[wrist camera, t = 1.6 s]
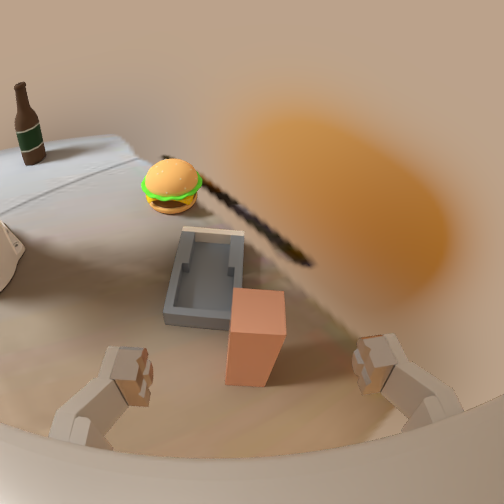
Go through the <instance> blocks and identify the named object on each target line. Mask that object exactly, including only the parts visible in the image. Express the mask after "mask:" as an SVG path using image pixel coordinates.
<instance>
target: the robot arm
mask: <svg viewBox="0 0 504 504" xmlns="http://www.w3.org/2000/svg"><path fill="white" fill-rule="evenodd" d="M24 251H25V247H24V245H23V244H22V243H21V242H20V241H19V240H18V239H17V238H16V236H15V235H14V234H13V233H12V232H11V231H10V230H9V229H8V228H7V227H6V225H5V224H4V223H3V222H2V221H1V220H0V291H2V290H3V289H4V287H5V286H6V285H7V284H8V282H9V281H10V280H11V278H12V276H13V274H14V272H15V269H16V266H17V263H18V260H19V259H20V257H21V256H22V254H23V253H24ZM356 345H357V349H356V350H355V351H354V352H353V356H352V367H353V371H354V374H356V375H357V376H358V377H359V380H358V382H357V383H358V386H359V388H360V391H361V394H362V395H366V394H372V393H378V392H381V394H382V395H383V396H384V397H385V398H386V399H387V400H389V401H390V402H391V403H392V404H393V405H394V406H395V407H396V408H397V409H398V410H399V411H400V412H402V413H403V414H404V415H405V416H406V417H407V418H408V419H409V420H408V421H407V422H406V424H405V425H404V426H403V428H402V430H401V431H402V433H399V434H395V435H392V436H388V437H384V438H380V439H376V440H372V441H367V442H363V443H358V444H353V445H348V446H343V447H338V448H332V449H326V450H320V451H313V452H305V453H297V454H289V455H278V456H266V457H250V458H180V457H164V456H152V455H142V454H134V453H126V452H119V451H113V447H112V445H111V444H110V443H109V442H108V441H107V440H106V439H105V437H104V436H105V435H106V433H107V432H108V431H109V430H110V429H111V427H112V426H113V425H114V424H115V423H116V421H117V420H118V419H119V418H120V417H121V415H122V414H123V413H124V412H125V411H126V409H127V408H128V406H138V407H149V401H150V395H151V393H150V390H149V387H150V386H151V385H152V383H153V366H152V363H151V361H150V360H148V359H147V358H148V352H147V349H146V348H137V347H122V346H109V347H108V348H107V349H106V352H105V355H104V358H103V361H102V365H101V368H100V371H99V374H98V377H97V378H93V379H92V380H91V381H90V382H89V383H87V384H86V385H85V386H84V387H83V388H82V389H81V390H79V391H78V392H77V393H76V394H75V395H74V396H73V397H71V398H70V399H69V400H68V401H67V402H66V403H65V404H63V405H62V406H61V407H60V408H59V409H58V410H57V411H56V413H55V416H54V419H53V423H52V426H51V429H50V432H49V436H48V437H46V436H42V435H39V434H35V433H32V432H29V431H25V430H22V429H19V428H16V427H13V426H10V425H7V424H4V423H2V422H0V504H504V394H503V395H500V396H498V397H496V398H494V399H492V400H490V401H488V402H485V403H483V404H481V405H479V406H476V407H474V408H472V409H469V410H467V411H464V410H463V408H462V406H461V404H460V402H459V400H458V398H457V396H456V394H455V392H454V390H453V388H451V387H450V386H448V385H446V384H445V383H444V382H442V381H441V380H439V379H438V378H436V377H435V376H433V375H432V374H430V373H429V372H428V371H426V370H424V369H423V368H422V367H420V366H418V365H417V364H416V363H414V362H413V361H412V362H409V360H408V358H407V356H406V354H405V352H404V350H403V348H402V346H401V344H400V342H399V340H398V338H397V337H396V335H395V334H394V333H389V334H383V335H375V336H368V337H361V338H359V339H358V341H357V343H356Z"/></svg>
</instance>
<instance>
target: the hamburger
mask: <svg viewBox="0 0 504 504" xmlns="http://www.w3.org/2000/svg"><path fill="white" fill-rule="evenodd" d="M141 186H142V190H143V191H144V192H145V194H146V199H147V201H148V203H149V204H150V206H151V207H152V208H153V209H155V210H156V211H158V212H161V213H166V214H175V213H180V212H183V211H185V210H187V209H189V208H190V207H192V206H193V205H194V203H195V202H196V199H197V191H198V189H199V188H200V187H201V186H202V178H201V177H200V175H199V174H198V172H197V171H196V170H195V169H194V167H193V166H192V165H191V164H189V163H188V162H186V161H183V160H180V159H165V160H162V161H160V162H158V163H156V164H155V165H154V166H152V167H151V168H150V169H149V171H148V173H147V175H146V176H145V178H144V180H143V181H142V183H141Z"/></svg>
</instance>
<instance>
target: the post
mask: <svg viewBox="0 0 504 504" xmlns="http://www.w3.org/2000/svg"><path fill="white" fill-rule="evenodd" d="M285 338H286V317H285V300H284V291H274V290H260V289H247V288H234V287H233V296H232V306H231V316H230V326H229V336H228V347H227V361H226V378H225V385H236V386H255V387H265V384H266V382H267V380H268V378H269V375H270V373H271V371H272V368H273V366H274V364H275V361H276V359H277V357H278V354H279V352H280V350H281V347H282V345H283V342H284V340H285Z"/></svg>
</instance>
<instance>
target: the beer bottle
mask: <svg viewBox="0 0 504 504" xmlns="http://www.w3.org/2000/svg"><path fill="white" fill-rule="evenodd" d="M25 86H26V83H25V82H21V83H18V84H16V85H15V86H14V89H15V92H16V101H17V115H16V118H15V130H16V134H17V138H18V142H19V146H20V150H21V153H22V157H23V160H24V163H25V165H34V164H36V163H38V162H40V161H42V160H43V159H44V157H45V156H46V152H45V147H44V143H43V138H42V134H41V129H40V124H39V120H38V116H37V115H36V113H35V111H34V110H33V109H32V108H31V107H30V105H29V101H28V96H27V92H26V88H25Z"/></svg>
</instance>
